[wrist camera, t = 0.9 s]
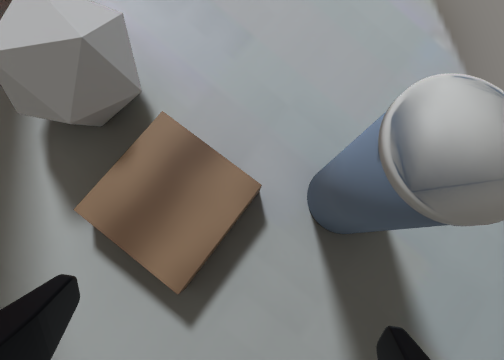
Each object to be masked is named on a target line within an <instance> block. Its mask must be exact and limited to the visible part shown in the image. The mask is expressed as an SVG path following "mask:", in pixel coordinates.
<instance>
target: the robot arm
mask: <svg viewBox="0 0 504 360" xmlns="http://www.w3.org/2000/svg"><path fill="white" fill-rule="evenodd" d="M79 300H80V292H79V288H78V283H77V278H76V277H75V276H71V275H65V274H61V275H58V276H56V277H54V278H53V279H51V280H49V281H48V282H46V283H44V284H43V285H41V286H39V287H38V288H36V289H34V290H33V291H31V292H29V293H28V294H26V295H24V296H23V297H21V298H19V299H18V300H16V301H14V302H13V303H11V304H9V305H8V306H6V307H4V308H3V309H1V310H0V360H50V359H51V358H52V356H53V354H54V352H55V350H56V348H57V346H58V344H59V342H60V340H61V338H62V336H63V334H64V332H65V330H66V328H67V326H68V324H69V321H70V319H71V317H72V315H73V313H74V311H75V309H76V307H77V305H78V303H79ZM377 357H378V360H430V359H429V357H428V356H427V355H426V354H425V353H424V352H423V351H422V349H421V348H420V347H419V346H418V345H417V344H416V342H415V341H414V340H413V339H412V338H411V337H410V336H409V334H408V333H407V332H406V331H405V330H404V329H402V328H400V327H394V326H388V327H386V328H385V330H384V332H383V333H382V335H381V337H380V339H379V340H378V343H377Z"/></svg>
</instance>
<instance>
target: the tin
mask: <svg viewBox="0 0 504 360" xmlns="http://www.w3.org/2000/svg"><path fill="white" fill-rule="evenodd" d="M307 200H308V206H309V209H310V212H311V214H312V216H313V217H314V218H315V220H316V221H317V222H318V223H319V224H320V225H321V226H322V227H324V228H325V229H327V230H329V231H331V232H334V233H339V234H351V233H363V232H374V231H385V230H397V229H408V228H420V227H431V226H442V225H453V226H475V225H488V224H493V223H497V222H500V221H503V220H504V91H503V90H501V89H500V88H498V87H496V86H495V85H493V84H491V83H489V82H487V81H484V80H482V79H480V78H476V77H473V76H469V75H464V74H454V73H449V74H439V75H433V76H430V77H427V78H424V79H422V80H420V81H418V82H416V83H415V84H413V85H412V86H410V87H409V88H408V89H407V90H406V91H404V92H403V93H402V94H401V95H400V96H399V97H398V98H397V99H396V100H395V101H394V102H393V103H392V104H391V105H390V107H389V108H388V110H387V111H386V112H385V113H384V114H383V115H382V116H381V117H379V118H378V119H377V120H376V121H375V122H374V123H373V124H372V125H371V126H369V127H368V128H367V129H366V130H365V131H364V132H363V133H362V134H361V135H359V136H358V137H357V138H356V139H355V140H354V141H353V142H352V143H350V144H349V145H348V146H347V147H346V148H345V149H344V150H343V151H342V152H340V153H339V154H338V155H337V156H336V157H335V158H334V159H333V160H332V161H330V162H329V163H328V164H327V165H326V166H325V167H324V168H323V169H321V170H320V171H319V172H318V173H317V174H316V175H315V176H314V177H313V179H312V181H311V183H310V185H309V188H308V193H307Z"/></svg>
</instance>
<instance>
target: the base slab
mask: <svg viewBox="0 0 504 360" xmlns="http://www.w3.org/2000/svg"><path fill="white" fill-rule="evenodd" d="M261 186H262V185H261V184H259V183H258V182H257V181H255V180H254V179H253V178H251V177H250V176H249V175H247V174H246V173H245V172H243V171H242V170H241V169H239V168H238V167H237V166H235V165H234V164H233V163H231V162H230V161H229V160H227V159H226V158H225V157H223V156H222V155H221V154H219V153H218V152H217V151H215V150H214V149H213V148H211V147H210V146H209V145H207V144H206V143H205V142H203V141H202V140H201V139H199V138H198V137H197V136H195V135H194V134H192V133H191V132H190V131H188V130H187V129H186V128H184V127H183V126H182V125H180V124H179V123H178V122H176V121H175V120H174V119H172V118H171V117H170V116H168V115H167V114H166V113H164V112H163V111H162V112H161V113H160V114H159V115H158V116H157V118H156V119H155V120H154V121H153V122H152V123H151V124H150V125H149V126H148V128H147V129H146V130H145V131H144V132H143V133H142V134H141V135H140V136H139V138H138V139H137V140H136V141H135V142H134V143H133V144H132V145H131V146H130V148H129V149H128V150H127V151H126V152H125V153H124V154H123V155H122V156H121V158H120V159H119V160H118V161H117V162H116V163H115V164H114V165H113V166H112V168H111V169H110V170H109V171H108V172H107V173H106V174H105V175H104V176H103V178H102V179H101V180H100V181H99V182H98V183H97V184H96V185H95V186H94V188H93V189H92V190H91V191H90V192H89V193H88V194H87V195H86V196H85V198H84V199H83V200H82V201H81V202H80V203H79V204H78V205H77V206H76V207H75V209H74V210H75V211H76V212H77V213H78V214H79V215H81V216H82V217H83V218H84V219H86V220H87V221H88V222H89V223H91V224H92V225H93V226H94V227H95V228H97V229H98V230H99V231H100V232H102V233H103V234H104V235H105V236H106V237H108V238H109V239H110V240H111V241H113V242H114V243H115V244H116V245H118V246H119V247H120V248H121V249H122V250H124V251H125V252H126V253H127V254H129V255H130V256H131V257H132V258H133V259H135V260H136V261H137V262H138V263H140V264H141V265H142V266H143V267H144V268H146V269H147V270H148V271H149V272H151V273H152V274H153V275H154V276H156V277H157V278H158V279H159V280H160V281H162V282H163V283H164V284H165V285H167V286H168V287H169V288H170V289H171V290H173V291H174V292H175V293H176V294H180V293H181V292H182V291H183V290H184V289H185V288H186V287H187V286H188V284H189V283H190V282H191V280H192V279H193V278H194V276H195V275H196V274H197V273H198V271H199V270H200V269H201V267H202V266H203V265H204V263H205V262H206V261H207V259H208V258H209V257H210V255H211V254H212V253H213V252H214V250H215V249H216V248H217V246H218V245H219V244H220V242H221V241H222V240H223V238H224V237H225V236H226V234H227V233H228V232H229V231H230V229H231V228H232V227H233V225H234V224H235V223H236V221H237V220H238V219H239V217H240V216H241V215H242V213H243V212H244V211H245V210H246V208H247V207H248V206H249V204H250V203H251V202H252V200H253V199H254V198H255V196H256V195H257V194H258V192H259V191H260V188H261Z"/></svg>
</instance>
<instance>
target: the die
mask: <svg viewBox="0 0 504 360" xmlns="http://www.w3.org/2000/svg"><path fill="white" fill-rule="evenodd" d="M0 84H1V86H2V88H3V89H4V91H5V93H6V95H7V96H8V98H9V100H10V101H11V103H12V105H13V106H14V108H15V110H16V111H17V113H18V114H22V115H27V116H32V117H37V118H42V119H47V120H52V121H58V122H63V123H68V124H77V125H89V126H101V127H102V126H103V125H104V124H105V123H106V122H107V121H108V120H110V119H111V118H112V117H113V116H114V115H115V114H116V113H118V112H119V111H120V110H121V109H122V108H123V107H125V106H126V105H127V104H128V103H129V102H130V101H131V100H133V99H134V98H135V97H136V96H137V95H138V94H140V93H141V92H142V89H141V85H140V81H139V77H138V73H137V69H136V65H135V61H134V57H133V53H132V49H131V45H130V41H129V37H128V33H127V29H126V25H125V21H124V17H123V13H121V12H118V11H115V10H113V9H110V8H108V7H105V6H102V5H100V4H97V3H94V2H92V1H89V0H12V2H11V3H10V5H9V7H8V8H7V10H6V12H5V13H4V15H3V17H2V18H1V20H0Z"/></svg>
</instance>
